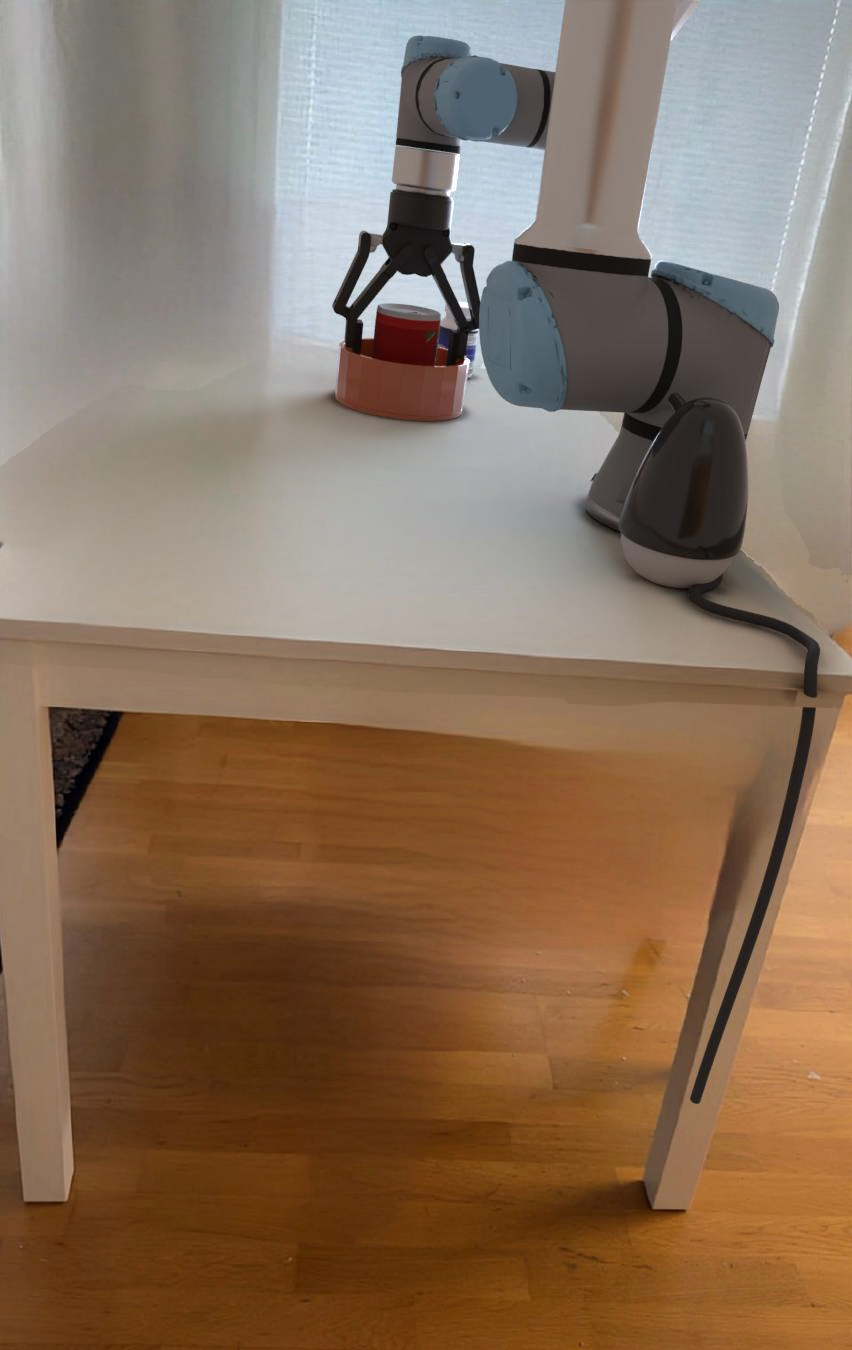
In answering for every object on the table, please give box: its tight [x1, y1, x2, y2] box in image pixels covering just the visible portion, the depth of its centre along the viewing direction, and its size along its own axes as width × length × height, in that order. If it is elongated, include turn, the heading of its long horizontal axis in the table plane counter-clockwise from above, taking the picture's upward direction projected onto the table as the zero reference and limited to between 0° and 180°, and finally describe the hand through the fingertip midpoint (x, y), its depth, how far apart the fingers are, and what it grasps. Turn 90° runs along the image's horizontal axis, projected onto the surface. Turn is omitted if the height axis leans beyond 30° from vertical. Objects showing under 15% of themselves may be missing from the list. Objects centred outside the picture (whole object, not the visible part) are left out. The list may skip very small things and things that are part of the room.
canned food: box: [372, 302, 442, 366], centre depth 133 cm, size 8×8×11 cm
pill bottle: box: [438, 301, 479, 379], centre depth 155 cm, size 6×6×10 cm
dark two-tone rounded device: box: [618, 393, 749, 589], centre depth 87 cm, size 10×10×15 cm
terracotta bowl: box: [334, 337, 470, 422], centre depth 134 cm, size 16×16×6 cm
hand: (401, 379), depth 134 cm, fingers open, 11 cm apart
